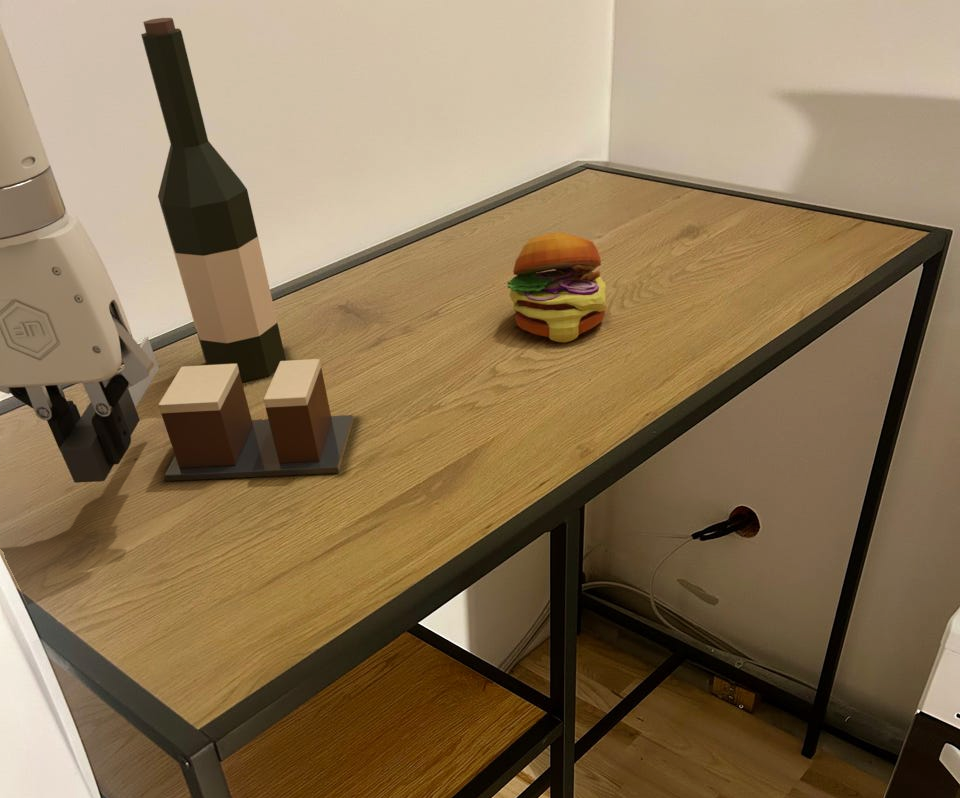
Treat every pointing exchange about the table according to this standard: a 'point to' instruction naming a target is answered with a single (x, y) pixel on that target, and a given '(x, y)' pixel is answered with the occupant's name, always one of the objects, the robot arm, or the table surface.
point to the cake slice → (298, 411)
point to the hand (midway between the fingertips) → (100, 454)
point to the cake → (206, 415)
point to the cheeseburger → (558, 287)
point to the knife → (84, 443)
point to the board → (272, 456)
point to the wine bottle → (210, 223)
